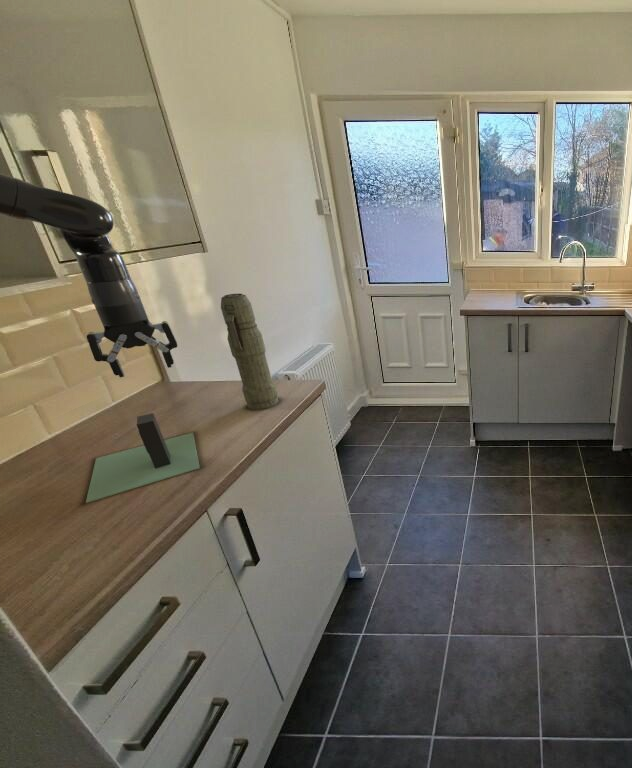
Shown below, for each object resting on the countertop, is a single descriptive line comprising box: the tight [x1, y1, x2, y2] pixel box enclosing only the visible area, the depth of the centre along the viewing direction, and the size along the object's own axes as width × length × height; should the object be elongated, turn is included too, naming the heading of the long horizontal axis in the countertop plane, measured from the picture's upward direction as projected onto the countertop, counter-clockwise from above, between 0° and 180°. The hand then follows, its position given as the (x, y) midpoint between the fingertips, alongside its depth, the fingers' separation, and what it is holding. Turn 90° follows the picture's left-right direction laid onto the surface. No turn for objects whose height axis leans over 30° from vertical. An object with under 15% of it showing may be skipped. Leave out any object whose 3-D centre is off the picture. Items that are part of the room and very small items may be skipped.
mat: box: [85, 432, 201, 504], centre depth 102 cm, size 20×22×1 cm
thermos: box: [220, 293, 280, 411], centre depth 125 cm, size 9×12×35 cm
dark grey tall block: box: [136, 412, 171, 468], centre depth 99 cm, size 3×5×12 cm, turn 39°
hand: (146, 371), depth 95 cm, fingers open, 8 cm apart
